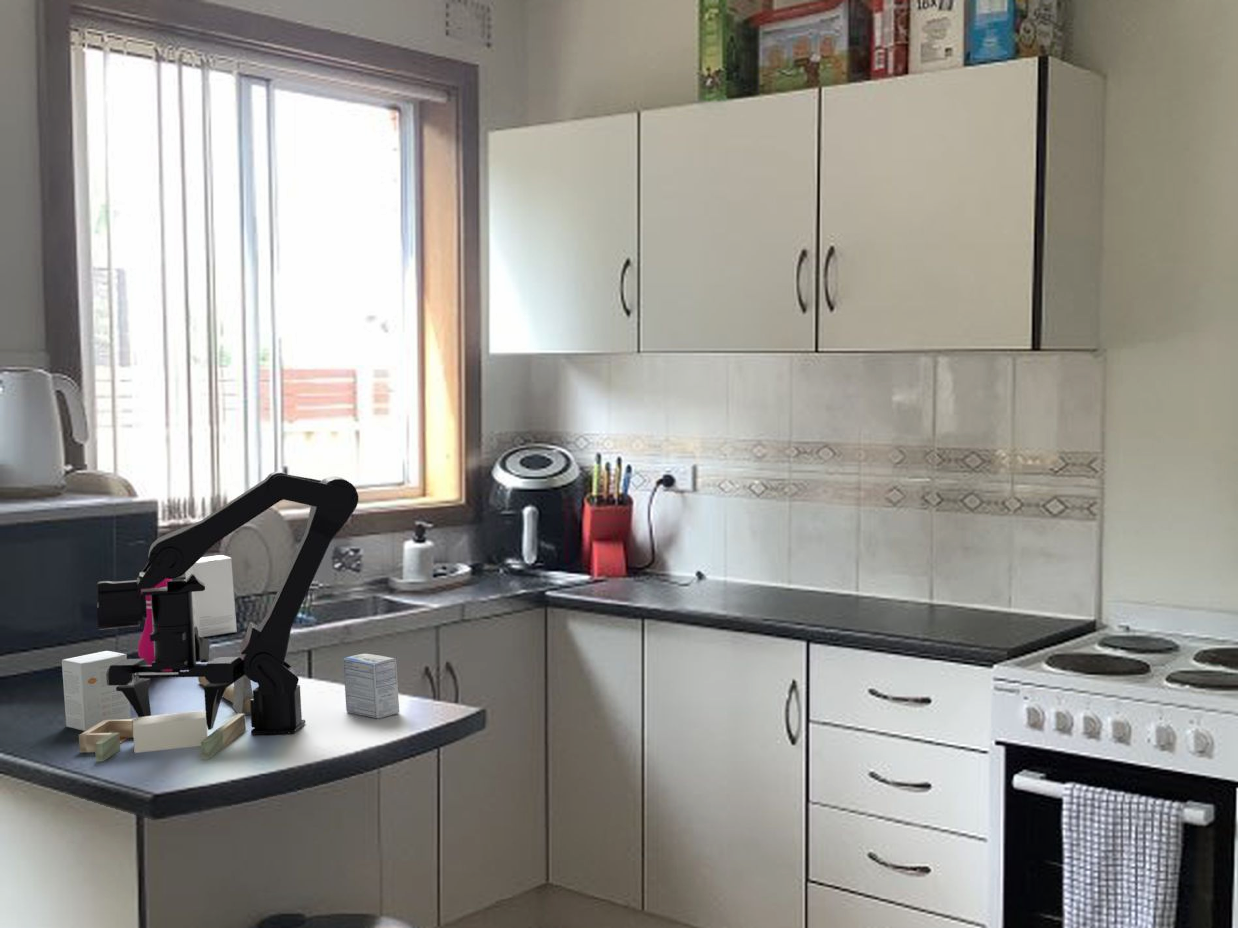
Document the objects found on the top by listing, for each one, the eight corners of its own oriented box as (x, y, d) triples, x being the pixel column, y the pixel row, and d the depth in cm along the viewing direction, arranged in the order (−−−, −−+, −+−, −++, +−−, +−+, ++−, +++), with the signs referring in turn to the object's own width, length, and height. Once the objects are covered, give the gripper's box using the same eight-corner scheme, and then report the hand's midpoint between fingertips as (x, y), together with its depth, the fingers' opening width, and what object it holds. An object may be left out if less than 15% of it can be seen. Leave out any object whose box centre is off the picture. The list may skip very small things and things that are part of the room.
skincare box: (227, 628, 309) (223, 554, 308) (238, 632, 303) (233, 557, 302) (187, 634, 304) (183, 558, 303) (197, 638, 299) (192, 561, 298)
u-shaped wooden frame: (245, 729, 221) (244, 713, 221) (208, 759, 205) (207, 741, 205) (111, 732, 222) (110, 716, 222) (64, 761, 206) (63, 744, 206)
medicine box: (400, 713, 228) (397, 657, 227) (377, 719, 224) (374, 663, 224) (368, 707, 233) (365, 652, 232) (345, 712, 230) (342, 657, 229)
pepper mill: (174, 677, 261) (167, 564, 260) (133, 678, 261) (126, 565, 260) (187, 668, 268) (180, 558, 267) (147, 670, 268) (140, 560, 267)
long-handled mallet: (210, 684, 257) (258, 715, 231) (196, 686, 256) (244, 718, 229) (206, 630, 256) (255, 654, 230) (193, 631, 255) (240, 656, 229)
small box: (111, 716, 233) (107, 649, 233) (132, 720, 230) (127, 653, 229) (64, 726, 227) (60, 658, 226) (84, 731, 224) (80, 662, 223)
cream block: (206, 736, 218) (204, 709, 218) (207, 744, 213) (206, 717, 213) (134, 744, 215) (132, 717, 215) (134, 753, 210) (132, 725, 210)
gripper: (254, 612, 222) (260, 714, 223) (133, 614, 224) (139, 716, 225) (228, 625, 211) (234, 734, 212) (101, 628, 213) (108, 735, 214)
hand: (179, 729), depth 216 cm, fingers open, 9 cm apart
